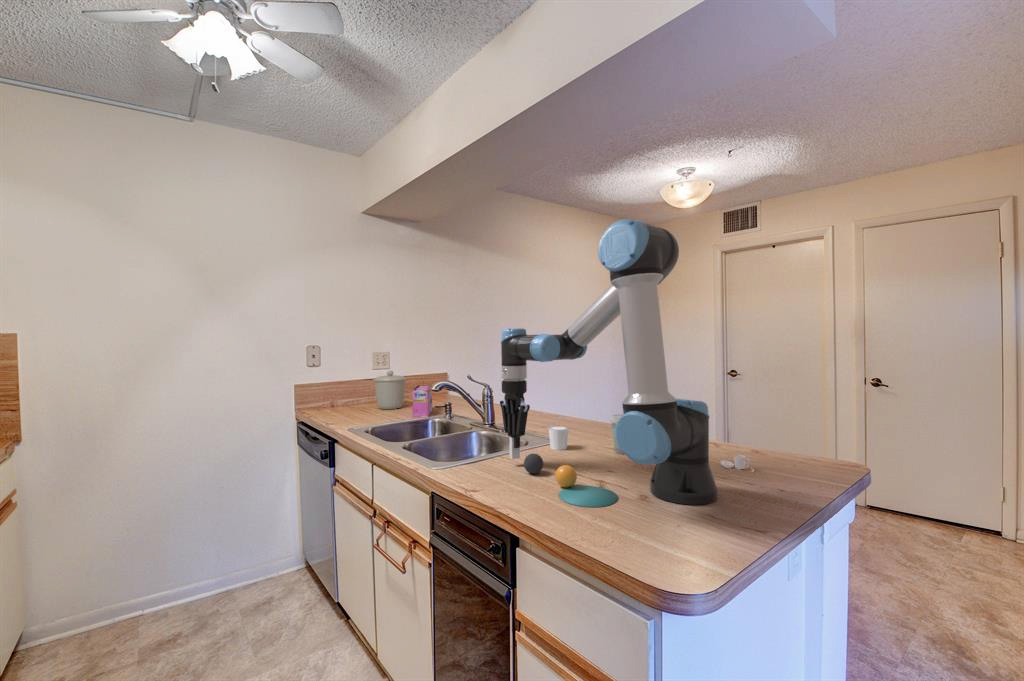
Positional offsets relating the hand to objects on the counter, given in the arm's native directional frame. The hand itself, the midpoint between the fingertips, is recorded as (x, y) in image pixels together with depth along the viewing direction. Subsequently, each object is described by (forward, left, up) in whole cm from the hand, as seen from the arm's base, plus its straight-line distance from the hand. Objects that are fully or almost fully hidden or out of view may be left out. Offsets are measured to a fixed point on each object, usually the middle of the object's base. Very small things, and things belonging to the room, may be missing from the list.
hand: (514, 457), depth 132 cm
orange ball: (-24, 0, 0) cm, 24 cm away
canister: (+132, -5, -2) cm, 133 cm away
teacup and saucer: (-39, -53, -3) cm, 66 cm away
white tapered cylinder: (+8, -24, -3) cm, 26 cm away
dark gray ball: (-10, 0, 0) cm, 10 cm away
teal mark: (-32, 0, -2) cm, 32 cm away
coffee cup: (-9, -38, -2) cm, 39 cm away
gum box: (+105, -13, -3) cm, 106 cm away
